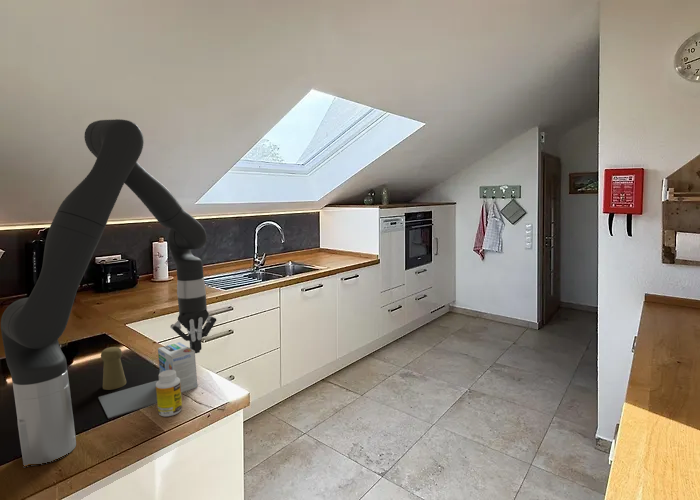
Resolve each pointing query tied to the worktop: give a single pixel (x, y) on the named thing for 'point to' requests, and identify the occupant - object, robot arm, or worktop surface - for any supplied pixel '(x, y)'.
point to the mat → (129, 399)
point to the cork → (112, 368)
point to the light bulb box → (179, 364)
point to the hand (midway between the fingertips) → (196, 352)
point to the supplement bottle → (168, 393)
